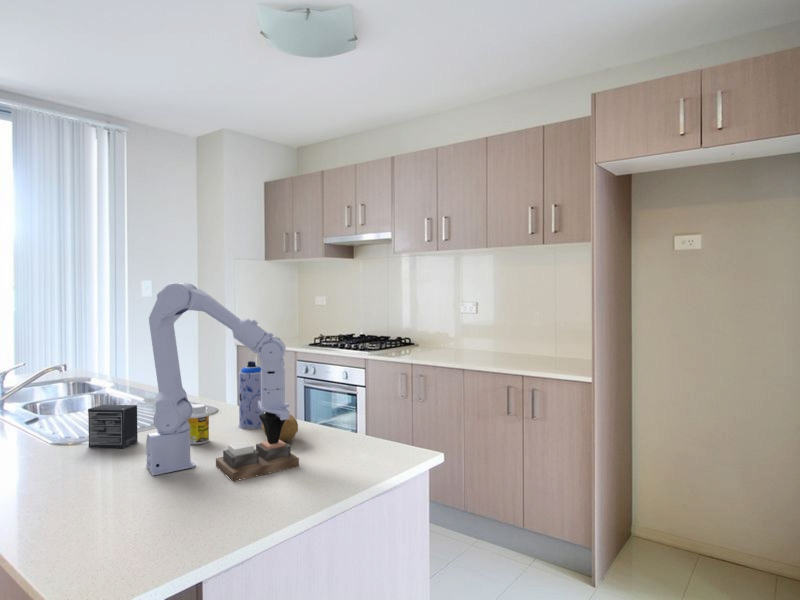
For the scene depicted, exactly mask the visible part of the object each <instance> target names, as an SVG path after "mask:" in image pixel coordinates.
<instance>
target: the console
mask: <svg viewBox="0 0 800 600" xmlns="http://www.w3.org/2000/svg"><path fill="white" fill-rule="evenodd" d="M283 442H284V443H286V446H283V447H278V448H274V449H269V450H267V449H265V448H264V447H262V446H261V442H260V443H256V444H255V448H254V453H249V454H244V455H239V456H235V457H234V456H233V455H231V454H230V453H229V452H228V449H225V450H222V456H219V457H215V467H216V468H217V469H218V470H219V469H220V470H219V471H220V472H221V473H223V474H224V475H225V476H226V475H227V476H228V477H229V478H230V479H231V480H230V479H229V478H228V477H227V476H226V477H227V478H228V479H229V480H230V481H232V482H233V481H234V482H237V481H236V480H239V479H243V478H247V479H250V478H249V477H251V478H254V477H253V476H255V477H257V476H256V475H260V476H262V475H261V474H264V475H267V474H266V473H268V474H270V473H269V472H272V473H275V472H274V471H277V472H280V471H279V470H281V471H284V470H283V469H285V470H288V469H287V468H289V469H293V467H294V468H298V467H300V457H298V456H296V455H295V454H293V453H292V452H291V451H292V450H291V449H292V447H291V444H288V443H287V442H286V441H283ZM297 466H298V467H297ZM243 480H244V479H243ZM239 481H240V480H239Z"/></svg>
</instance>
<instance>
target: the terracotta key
mask: <svg viewBox="0 0 800 600" xmlns="http://www.w3.org/2000/svg"><path fill="white" fill-rule="evenodd" d="M284 442H285V441H281V440H279V441H278V443H274V444H269V443H268V440H266V441H265V440H264V441H260V443H261V446H262V447H264V448H265V449H267V450H269V449H274V448H278V447H283V446H286V443H287V442H285V443H284Z"/></svg>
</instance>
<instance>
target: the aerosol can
mask: <svg viewBox="0 0 800 600" xmlns="http://www.w3.org/2000/svg"><path fill="white" fill-rule="evenodd" d="M238 399H239V400H238V401H239V402H238V407H239V409H238V411H239V412H238V413H239V414H238V415H239V417H238V418H239V420H238V421H239V424H238V428H239V429H241V430H257V429H261V428H262V421H261V419H260V418H259V415H260V414H265V412H264V411H261V410H260V409H258V401H261V366H258V365H257V364H256V361H251V360H249V361H248V362H247V365H246V366H244V367H243V368H242V369H241V370H240V371H239V373H238Z"/></svg>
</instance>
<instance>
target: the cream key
mask: <svg viewBox="0 0 800 600" xmlns="http://www.w3.org/2000/svg"><path fill="white" fill-rule="evenodd" d="M227 448H228V449H227V450H228V452H229V453H230V454H231V455H233V456H234V457H235V456H239V455H244V454H249V453H254V449H255V446H254V445H253V444H252V443H251V442H249V441H248V440H247V441H239V442H236V443H235V442H234V443H231V444H228V445H227Z"/></svg>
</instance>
